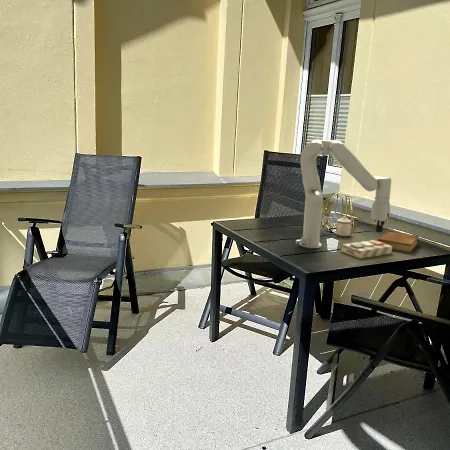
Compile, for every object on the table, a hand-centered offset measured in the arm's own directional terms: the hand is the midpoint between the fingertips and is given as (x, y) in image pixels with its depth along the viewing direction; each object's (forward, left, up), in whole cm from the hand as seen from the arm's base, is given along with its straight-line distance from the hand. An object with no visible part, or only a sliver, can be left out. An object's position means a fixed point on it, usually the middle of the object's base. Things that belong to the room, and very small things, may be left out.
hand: (379, 231), depth 248 cm
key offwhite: (-8, 0, -9) cm, 12 cm away
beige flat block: (-8, 0, -11) cm, 14 cm away
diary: (+20, +3, -12) cm, 24 cm away
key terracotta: (0, 0, -9) cm, 9 cm away
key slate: (-15, 0, -9) cm, 18 cm away
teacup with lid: (+6, +35, -11) cm, 38 cm away
